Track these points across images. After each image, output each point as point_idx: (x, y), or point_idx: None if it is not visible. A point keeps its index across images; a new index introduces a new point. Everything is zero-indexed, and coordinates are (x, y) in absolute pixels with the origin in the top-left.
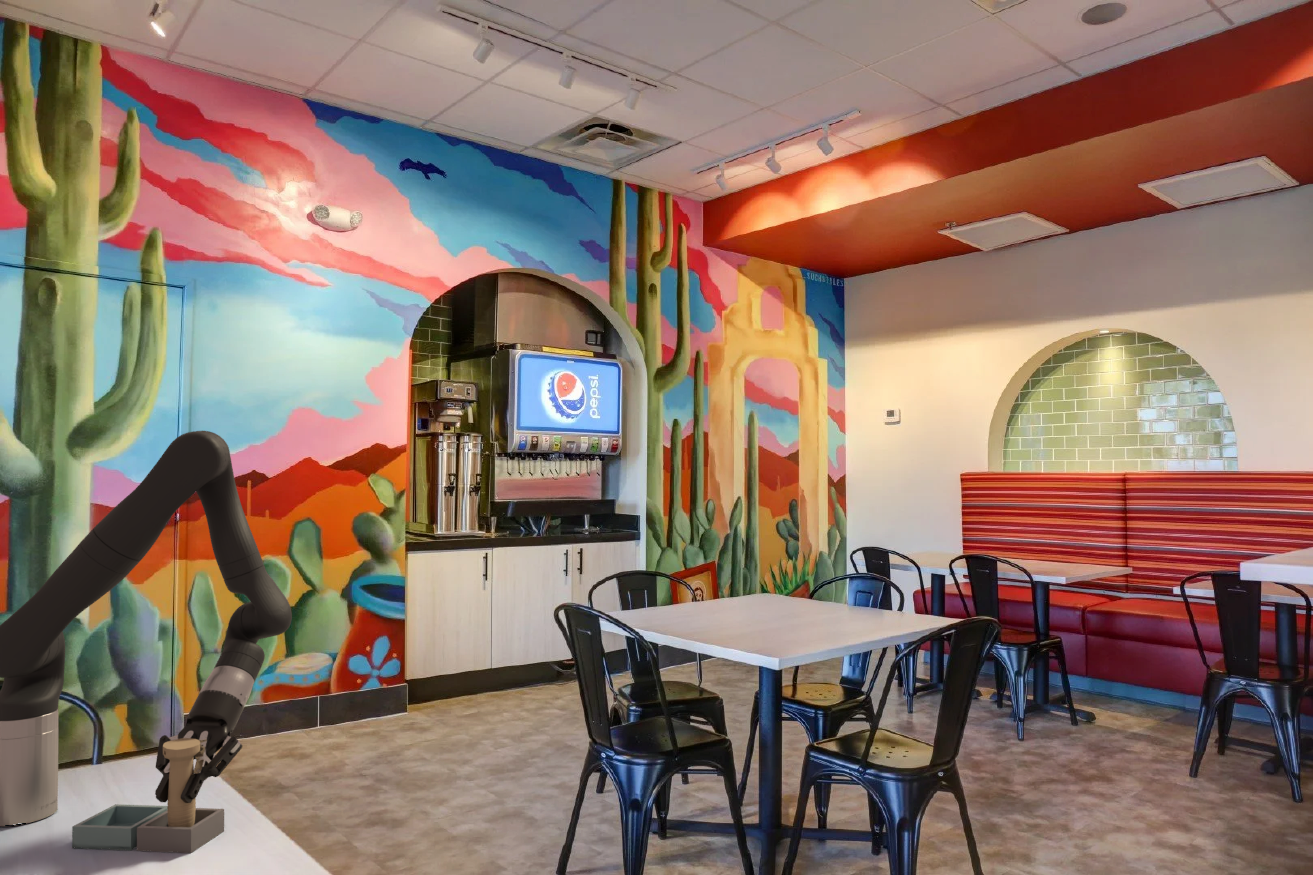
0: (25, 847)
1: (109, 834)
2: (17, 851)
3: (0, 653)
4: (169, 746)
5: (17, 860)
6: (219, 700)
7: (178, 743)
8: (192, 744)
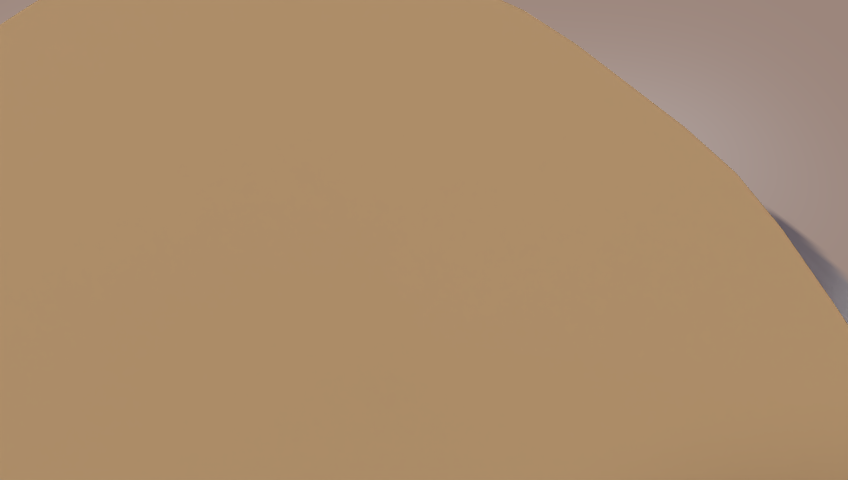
0: (844, 313)
1: None
2: (838, 286)
3: None
4: (586, 141)
5: (781, 227)
6: None
7: (533, 372)
8: (54, 257)
